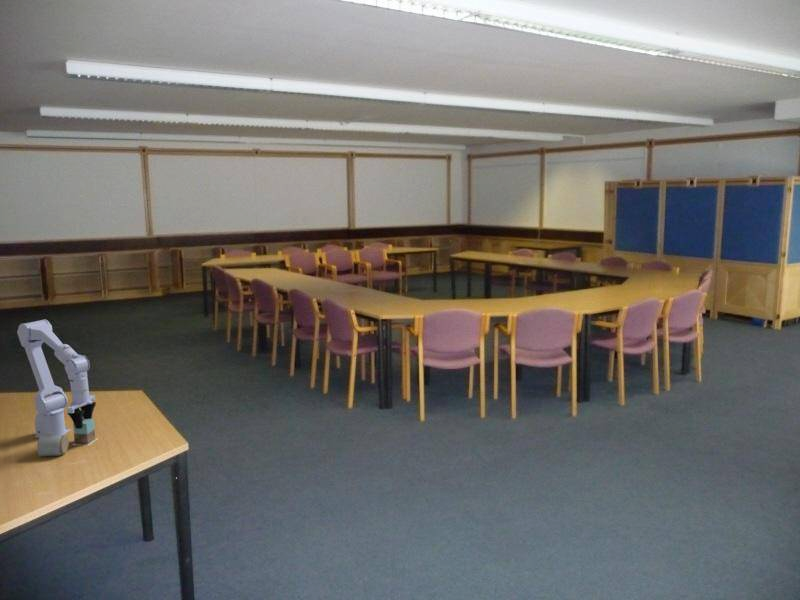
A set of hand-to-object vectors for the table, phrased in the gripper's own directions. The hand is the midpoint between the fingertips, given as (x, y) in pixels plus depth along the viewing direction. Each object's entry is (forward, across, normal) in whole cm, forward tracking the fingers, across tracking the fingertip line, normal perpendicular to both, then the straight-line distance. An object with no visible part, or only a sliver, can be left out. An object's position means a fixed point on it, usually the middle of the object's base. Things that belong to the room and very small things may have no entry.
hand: (83, 425), depth 234 cm
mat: (+7, 0, +2) cm, 7 cm away
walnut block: (+6, 0, 0) cm, 6 cm away
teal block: (+2, 0, 0) cm, 2 cm away
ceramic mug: (+7, -10, +5) cm, 13 cm away
